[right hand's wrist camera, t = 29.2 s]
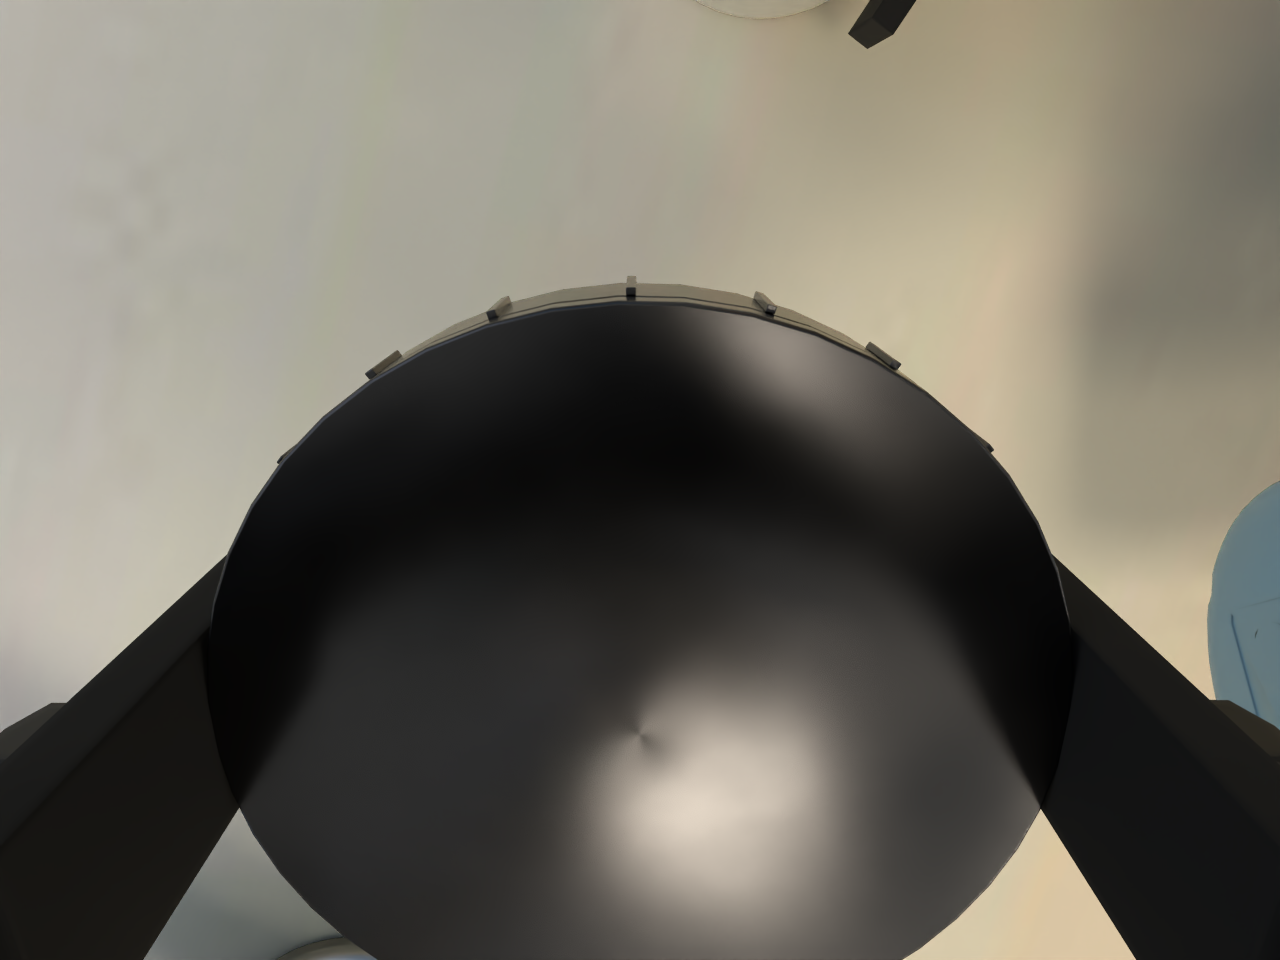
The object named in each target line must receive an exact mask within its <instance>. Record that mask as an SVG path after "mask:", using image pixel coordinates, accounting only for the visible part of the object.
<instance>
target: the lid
mask: <svg viewBox="0 0 1280 960" xmlns="http://www.w3.org/2000/svg"><path fill="white" fill-rule="evenodd" d="M866 348H867V349H866ZM866 348H865V347H863V346H862V345H860V344H859V343H857V342H856V341H854V340H852V339H851V338H849V337H848V336H846V335H845V334H843V333H841V332H839V331H837V330H834V329H832V328H830V327H828V326H826V325H823V324H821V323H819V322H817V321H815V320H813V319H810V318H808V317H806V316H804V315H802V314H799V313H797V312H795V311H793V310H790V309H787V308H783V307H780V306H777V305H775V304H774V303H773V302H772V301H771V300H770V299H769V298H767V297H766V296H765V295H764V294H763V293H760V292H755V295H754V298H750V297H747V296H744V295H740V294H737V293H730V292H724V291H718V290H712V289H705V288H699V287H693V286H686V285H680V284H641V283H636V276H627V283H617V284H608V285H599V286H590V287H581V288H571V289H563V290H559V291H555V292H551V293H547V294H543V295H539V296H535V297H531V298H527V299H523V300H519V301H515V302H511V301H510V298H509V296H507V297H504V298H501V299H500V300H499V301H498V302H497V303H496V304H494V305H493V306H492V307H491V308H490V309H489V310H488V311H487V312H484V313H482V314H479V315H477V316H474V317H472V318H469V319H467V320H464V321H462V322H459V323H457V324H454V325H453V326H451V327H449V328H447V329H446V330H444V331H442V332H440V333H439V334H437V335H435V336H433V337H432V338H430V339H428V340H426V341H425V342H423V343H421V344H419V345H418V346H416V347H414V348H412V349H411V350H409V351H407V352H406V353H404V354H403V355H401V354H400V352H399V351H398V350H397V351H395V352H394V353H393V354H391V355H390V356H388V357H387V358H386V359H384V360H383V361H382V362H380V363H379V364H377V365H376V366H375V367H373V368H372V369H371V370H369V371H368V372H366V373H365V374H366V376H367V377H368V378H369V379H370V380H369V381H368V382H367V383H365V384H364V385H363V386H361V387H360V388H359V389H358V390H356V391H355V392H354V393H352V394H351V395H350V396H349V397H347V398H346V399H345V400H344V401H342V402H341V403H340V404H338V405H337V406H336V407H335V408H333V409H332V410H331V411H329V412H328V413H327V414H326V415H324V416H323V417H322V418H321V419H320V420H319V421H318V422H317V423H316V424H315V425H314V426H313V428H312V429H311V430H310V431H309V432H308V433H307V434H306V435H305V436H304V437H303V438H302V439H301V440H300V441H299V442H298V443H297V444H296V445H295V446H293V447H292V448H291V449H290V450H288V451H287V452H286V453H285V454H283V455H282V456H281V457H280V458H279V460H278V461H277V463H278V464H279V465H278V466H277V468H276V469H275V471H274V472H273V474H272V475H271V477H270V478H269V479H268V481H267V482H266V484H265V485H264V487H263V488H262V490H261V491H260V492H259V494H258V495H257V497H256V498H255V500H254V501H253V503H252V504H251V506H250V508H249V510H248V512H247V514H246V516H245V518H244V520H243V522H242V524H241V527H240V529H239V531H238V533H237V535H236V537H235V539H234V541H233V543H232V545H231V547H230V549H229V551H228V554H227V557H226V561H225V564H224V567H223V571H222V574H221V578H220V581H219V584H218V588H217V591H216V594H215V598H214V601H213V607H212V615H211V623H210V630H209V638H208V646H207V685H208V704H209V710H210V715H211V719H212V724H213V729H214V734H215V739H216V744H217V749H218V753H219V757H220V760H221V763H222V765H223V768H224V771H225V774H226V777H227V780H228V783H229V786H230V789H231V792H232V794H233V796H234V798H235V800H236V802H237V804H238V806H239V808H240V810H241V812H242V814H243V815H244V817H245V819H246V821H247V823H248V825H249V827H250V829H251V831H252V833H253V835H254V836H255V838H256V839H257V841H258V842H259V844H260V845H261V846H262V848H263V849H264V851H265V852H266V854H267V855H268V857H269V858H270V859H271V861H272V862H273V864H274V865H275V867H276V868H277V869H278V871H279V872H280V874H281V875H282V876H283V877H284V878H285V879H286V880H287V881H288V882H289V884H290V885H291V886H292V887H293V888H294V889H295V890H296V891H297V892H298V894H299V895H300V896H301V897H302V898H303V899H304V900H305V901H306V902H307V904H308V905H309V906H310V907H311V908H312V909H313V910H314V911H316V912H317V913H318V914H319V915H320V916H321V917H322V918H324V919H325V920H326V921H327V922H328V923H329V924H330V925H332V926H333V927H334V928H335V929H336V930H337V931H338V932H340V933H341V934H342V935H343V936H344V937H345V938H347V939H348V940H349V941H351V942H352V943H354V944H355V945H357V946H358V947H360V948H361V949H362V950H364V951H365V952H367V953H368V954H370V955H371V956H373V957H374V958H375V959H377V960H903V959H904V958H906V957H907V956H909V955H911V954H912V953H914V952H915V951H917V950H918V949H920V948H921V947H922V946H924V945H925V944H926V943H927V942H929V941H930V940H931V939H932V938H934V937H935V936H936V935H937V934H939V933H940V932H941V931H942V930H944V929H945V928H946V927H947V926H949V925H950V924H951V923H952V922H954V921H955V920H956V919H957V918H958V917H959V916H960V915H961V914H962V913H963V912H964V911H965V910H966V909H967V908H968V907H969V906H970V905H971V904H972V903H973V902H974V901H975V900H976V899H977V898H978V897H979V896H980V895H981V894H982V893H983V892H984V891H985V890H986V889H987V888H988V887H989V886H990V884H991V883H992V882H993V880H994V879H995V878H996V876H997V875H998V874H999V872H1000V871H1001V870H1002V869H1003V867H1004V866H1005V865H1006V863H1007V862H1008V861H1009V859H1010V858H1011V857H1012V855H1013V854H1014V853H1015V852H1016V850H1017V849H1018V847H1019V846H1020V844H1021V842H1022V840H1023V839H1024V837H1025V835H1026V833H1027V832H1028V830H1029V828H1030V826H1031V825H1032V823H1033V821H1034V819H1035V818H1036V816H1037V814H1038V812H1039V811H1040V809H1041V807H1042V804H1043V802H1044V799H1045V797H1046V794H1047V792H1048V789H1049V787H1050V785H1051V782H1052V780H1053V777H1054V775H1055V772H1056V770H1057V767H1058V763H1059V759H1060V754H1061V750H1062V745H1063V741H1064V736H1065V732H1066V727H1067V723H1068V718H1069V712H1070V707H1071V697H1072V685H1073V673H1074V668H1073V654H1072V640H1071V626H1070V618H1069V614H1068V609H1067V605H1066V601H1065V597H1064V592H1063V588H1062V584H1061V580H1060V575H1059V571H1058V568H1057V566H1056V564H1055V561H1054V559H1053V556H1052V554H1051V552H1050V549H1049V547H1048V544H1047V542H1046V539H1045V537H1044V535H1043V532H1042V530H1041V527H1040V525H1039V522H1038V521H1037V519H1036V517H1035V516H1034V514H1033V512H1032V511H1031V509H1030V508H1029V506H1028V504H1027V503H1026V501H1025V499H1024V498H1023V496H1022V494H1021V493H1020V491H1019V490H1018V488H1017V486H1016V485H1015V483H1014V481H1013V480H1012V478H1011V477H1010V475H1009V474H1008V473H1007V471H1006V470H1005V469H1004V468H1003V467H1002V466H1001V464H1000V463H999V462H998V461H997V460H996V458H995V457H994V456H993V455H992V454H991V452H992V451H994V449H993V448H992V447H991V445H990V444H989V443H987V442H986V441H985V440H984V439H982V438H981V437H980V436H978V435H977V434H976V433H975V432H973V431H972V430H971V429H969V428H968V427H967V426H966V425H965V424H963V423H962V422H961V421H960V420H959V419H958V418H957V417H955V416H954V415H953V414H952V413H951V412H950V411H948V410H947V409H946V408H945V407H944V406H943V405H942V404H940V403H939V402H938V401H937V400H936V399H935V398H934V397H932V396H931V395H930V394H929V393H928V392H927V391H925V390H924V389H923V388H921V387H920V386H918V385H917V384H916V383H915V382H913V381H912V380H911V379H909V378H908V377H907V376H906V375H904V374H903V373H902V372H900V371H899V370H898V368H899V367H900V365H901V363H899V362H898V361H897V360H895V359H894V358H892V357H891V356H890V355H888V354H887V353H886V352H884V351H883V350H881V349H880V348H879V347H877V346H876V345H874V344H873V343H871V342H869V343H868V345H867V346H866Z"/></svg>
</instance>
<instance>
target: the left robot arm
mask: <svg viewBox="0 0 1280 960" xmlns="http://www.w3.org/2000/svg"><path fill="white" fill-rule="evenodd" d="M915 1H916V0H870V1H869V3H868V4H867V6H866V7H865V9H864V10H863V12H862V13H861V15H860V16H859V18H858V19H857V21H856V22H855V24H854V25H853V27H852V29H851V30H850V32H849V33H848V34H849V35H850V36H852V37H853V38H854V39H855V40H857V41H858V42H859V43H861V44H862V45H863V46H864V47H866V48H867V49H868V48H870V47H872V46H874V45H875V44H877V43H879V42H881V41H882V40H884V39H886V38H888V37H889V36H891V35H893V34H894V33H895V31H896V30H897V28H898V27H899V25H900V24H901V22H902V21H903V19H904V18H905V16H906V15H907V13H908V12H909V10H910V9H911V7H912V6H913V4H914V3H915ZM1207 629H1208V652H1209V663H1210V669H1211V676H1212V682H1213V687H1214V692H1215V697H1216V700H1230V701H1231V702H1233V703H1235V704H1237V705H1239V706H1240V707H1242V708H1244V709H1246V710H1247V711H1249V712H1251V713H1253V714H1255V715H1256V716H1258V717H1260V718H1262V719H1264V720H1265V721H1267V722H1269V723H1271V724H1273V725H1274V726H1276V727H1277V728H1278V729H1279V730H1280V481H1278V482H1276V483H1275V484H1273V485H1271V486H1270V487H1268V488H1266V489H1265V490H1264V491H1262V492H1261V493H1260V494H1259V495H1257V496H1256V497H1255V498H1254V499H1253V500H1252V501H1251V502H1250V503H1249V504H1248V505H1247V506H1246V507H1245V508H1244V509H1243V510H1242V511H1241V513H1240V514H1239V515H1238V517H1237V518H1236V519H1235V521H1234V522H1233V524H1232V526H1231V527H1230V529H1229V531H1228V533H1227V535H1226V537H1225V539H1224V541H1223V543H1222V546H1221V548H1220V551H1219V554H1218V556H1217V560H1216V563H1215V566H1214V570H1213V575H1212V595H1211V599H1210V603H1209V605H1208V616H1207Z"/></svg>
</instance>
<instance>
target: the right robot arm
mask: <svg viewBox="0 0 1280 960" xmlns="http://www.w3.org/2000/svg"><path fill="white" fill-rule="evenodd" d="M1052 556H1053V555H1052ZM226 557H227V555H226V556H225V557H224V558H223V559H222V560H221V561H220V562H219V563H217V564H216V565H215V566H214V567H213V568H212V569H211V570H210V571H209V572H208V573H207V574H206V575H204V576H203V577H202V578H201V579H200V580H199V581H198V582H197V583H196V584H195V585H194V586H193V587H191V588H190V589H189V590H188V591H187V592H186V593H185V594H184V595H183V596H182V597H181V598H180V599H178V600H177V601H176V602H175V603H174V604H173V605H172V606H171V607H170V608H169V609H168V610H167V611H165V612H164V613H163V614H162V615H161V616H160V617H159V618H158V619H157V620H156V621H155V622H154V623H153V624H151V625H150V626H149V627H148V628H147V629H146V630H145V631H144V632H143V633H142V634H141V635H140V636H138V637H137V638H136V639H135V640H134V641H133V642H132V643H131V644H130V645H129V646H128V647H127V648H125V649H124V650H123V651H122V652H121V653H120V654H119V655H118V656H117V657H116V658H115V659H114V660H112V661H111V662H110V663H109V664H108V665H107V666H106V667H105V668H104V669H103V670H102V671H101V672H99V673H98V674H97V675H96V676H95V677H94V678H93V679H92V680H91V681H90V682H89V683H88V684H87V685H85V686H84V687H83V688H82V689H81V690H80V691H79V692H78V693H77V694H76V695H75V696H74V697H72V698H71V699H70V700H69V701H68V702H67V703H50V704H49V705H47V706H45V707H43V708H41V709H40V710H38V711H36V712H34V713H33V714H31V715H29V716H27V717H25V718H24V719H22V720H20V721H18V722H17V723H15V724H13V725H11V726H9V727H8V728H6V729H5V730H3V731H2V732H1V733H0V960H143V959H144V958H145V956H146V954H147V953H148V951H149V950H150V948H151V947H152V945H153V943H154V942H155V940H156V939H157V937H158V935H159V934H160V932H161V931H162V929H163V928H164V926H165V924H166V923H167V921H168V920H169V918H170V916H171V915H172V913H173V912H174V910H175V909H176V907H177V905H178V904H179V902H180V901H181V899H182V897H183V896H184V894H185V893H186V891H187V890H188V888H189V886H190V885H191V883H192V882H193V880H194V878H195V877H196V875H197V874H198V872H199V871H200V869H201V867H202V866H203V864H204V863H205V861H206V859H207V858H208V856H209V855H210V853H211V851H212V850H213V848H214V847H215V845H216V844H217V842H218V840H219V839H220V837H221V836H222V834H223V832H224V831H225V829H226V828H227V826H228V825H229V823H230V821H231V820H232V818H233V817H234V815H235V813H236V812H237V810H238V809H239V806H238V804H237V802H236V800H235V798H234V796H233V794H232V792H231V789H230V786H229V783H228V780H227V777H226V774H225V771H224V768H223V765H222V763H221V760H220V757H219V753H218V749H217V744H216V739H215V734H214V729H213V724H212V719H211V715H210V710H209V704H208V685H207V646H208V638H209V630H210V623H211V615H212V607H213V601H214V598H215V594H216V591H217V588H218V584H219V581H220V578H221V574H222V571H223V567H224V564H225V561H226ZM1053 559H1054V561H1055V564H1056V566H1057V568H1058V571H1059V575H1060V580H1061V584H1062V588H1063V592H1064V597H1065V601H1066V605H1067V609H1068V614H1069V618H1070V626H1071V640H1072V654H1073V668H1074V673H1073V685H1072V697H1071V707H1070V712H1069V718H1068V723H1067V727H1066V732H1065V736H1064V741H1063V745H1062V750H1061V754H1060V759H1059V763H1058V767H1057V770H1056V772H1055V775H1054V777H1053V780H1052V782H1051V785H1050V787H1049V789H1048V792H1047V794H1046V797H1045V799H1044V802H1043V804H1042V807H1041V810H1042V811H1043V813H1044V814H1045V816H1046V818H1047V819H1048V821H1049V822H1050V824H1051V825H1052V827H1053V829H1054V830H1055V832H1056V833H1057V835H1058V837H1059V838H1060V840H1061V841H1062V843H1063V844H1064V846H1065V848H1066V849H1067V851H1068V852H1069V854H1070V856H1071V857H1072V859H1073V860H1074V862H1075V863H1076V865H1077V867H1078V868H1079V870H1080V871H1081V873H1082V875H1083V876H1084V878H1085V879H1086V881H1087V882H1088V884H1089V886H1090V887H1091V889H1092V890H1093V892H1094V894H1095V895H1096V897H1097V898H1098V900H1099V902H1100V903H1101V905H1102V906H1103V908H1104V909H1105V911H1106V913H1107V914H1108V916H1109V917H1110V919H1111V921H1112V922H1113V924H1114V925H1115V927H1116V928H1117V930H1118V932H1119V933H1120V935H1121V936H1122V938H1123V940H1124V941H1125V943H1126V944H1127V946H1128V947H1129V949H1130V951H1131V952H1132V954H1133V955H1134V957H1135V959H1136V960H1280V730H1279V729H1278V728H1277V727H1276V726H1274V725H1273V724H1271V723H1269V722H1267V721H1265V720H1264V719H1262V718H1260V717H1258V716H1256V715H1255V714H1253V713H1251V712H1249V711H1247V710H1246V709H1244V708H1242V707H1240V706H1239V705H1237V704H1235V703H1233V702H1231V701H1230V700H1209V699H1208V698H1207V697H1206V696H1205V695H1204V694H1203V693H1202V692H1200V691H1199V690H1198V689H1197V688H1196V687H1195V686H1194V685H1193V684H1192V683H1191V682H1190V681H1189V680H1187V679H1186V678H1185V677H1184V676H1183V675H1182V674H1181V673H1180V672H1179V671H1178V670H1177V669H1176V668H1174V667H1173V666H1172V665H1171V664H1170V663H1169V662H1168V661H1167V660H1166V659H1165V658H1164V657H1163V656H1162V655H1160V654H1159V653H1158V652H1157V651H1156V650H1155V649H1154V648H1153V647H1152V646H1151V645H1150V644H1149V643H1147V642H1146V641H1145V640H1144V639H1143V638H1142V637H1141V636H1140V635H1139V634H1138V633H1137V632H1136V631H1134V630H1133V629H1132V628H1131V627H1130V626H1129V625H1128V624H1127V623H1126V622H1125V621H1124V620H1123V619H1121V618H1120V617H1119V616H1118V615H1117V614H1116V613H1115V612H1114V611H1113V610H1112V609H1111V608H1110V607H1108V606H1107V605H1106V604H1105V603H1104V602H1103V601H1102V600H1101V599H1100V598H1099V597H1098V596H1097V595H1096V594H1094V593H1093V592H1092V591H1091V590H1090V589H1089V588H1088V587H1087V586H1086V585H1085V584H1084V583H1083V582H1081V581H1080V580H1079V579H1078V578H1077V577H1076V576H1075V575H1074V574H1073V573H1072V572H1071V571H1070V570H1068V569H1067V568H1066V567H1065V566H1064V565H1063V564H1062V563H1061V562H1060V561H1059V560H1058V559H1057V558H1055V557H1054V556H1053ZM277 960H377V959H375V958H374V957H373V956H371V955H370V954H368V953H367V952H365V951H364V950H362V949H361V948H360V947H358V946H357V945H355V944H354V943H352V942H351V941H349V940H348V939H347V938H345V937H343V938H335V939H329V940H324V941H320V942H315V943H312V944H309V945H306V946H303V947H300V948H298V949H295V950H293V951H291V952H289V953H287V954H285V955H283V956H281V957H280V958H278V959H277Z"/></svg>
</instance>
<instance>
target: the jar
mask: <svg viewBox="0 0 1280 960" xmlns="http://www.w3.org/2000/svg"><path fill="white" fill-rule="evenodd" d="M695 1H697V2H698V3H700V4H702V5H704V6H707V7H709V8H711V9H713V10H716V11H718V12H722V13H725V14H729V15H733V16H736V17H744V18H752V19H767V18H779V17H785V16H790V15H795V14H798V13H801V12H804V11H807V10H810V9H813V8H815V7H817V6H819V5H821V4H823V3H825V2H827V1H829V0H695Z"/></svg>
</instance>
